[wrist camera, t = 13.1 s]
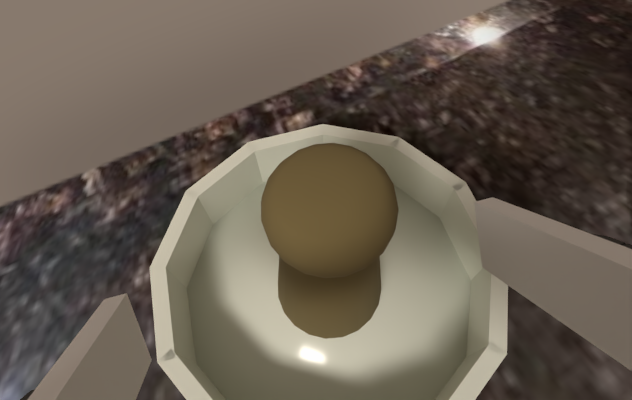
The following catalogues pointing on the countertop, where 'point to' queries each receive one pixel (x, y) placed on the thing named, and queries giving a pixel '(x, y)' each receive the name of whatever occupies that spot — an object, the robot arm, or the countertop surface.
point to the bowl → (291, 342)
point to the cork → (329, 236)
